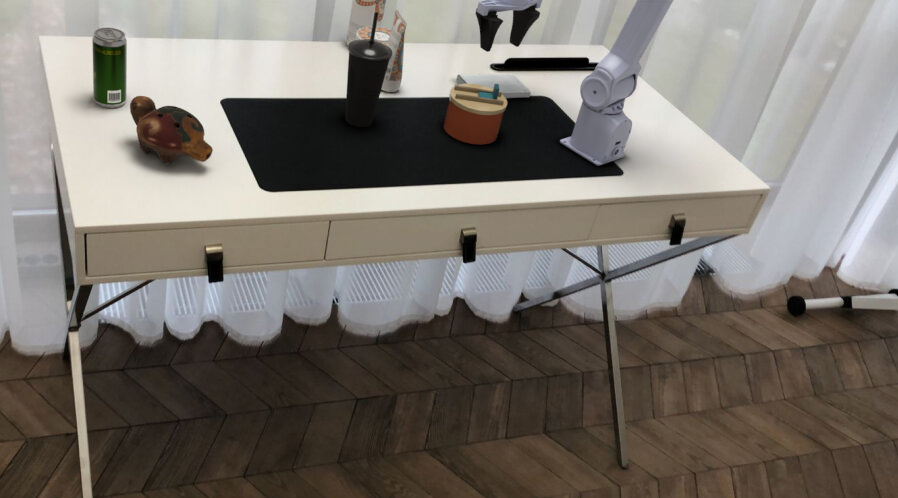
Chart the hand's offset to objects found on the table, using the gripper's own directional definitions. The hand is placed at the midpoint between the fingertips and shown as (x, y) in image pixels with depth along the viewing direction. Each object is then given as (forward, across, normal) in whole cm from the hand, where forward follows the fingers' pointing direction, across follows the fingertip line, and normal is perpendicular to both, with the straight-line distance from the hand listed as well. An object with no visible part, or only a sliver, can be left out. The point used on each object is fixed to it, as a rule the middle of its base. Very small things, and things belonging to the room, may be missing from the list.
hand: (499, 46), depth 184 cm
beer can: (+10, +69, -20) cm, 73 cm away
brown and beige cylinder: (+10, +13, +10) cm, 20 cm away
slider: (+3, +12, +11) cm, 17 cm away
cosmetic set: (+10, +15, -17) cm, 25 cm away
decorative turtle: (+10, +68, -1) cm, 68 cm away
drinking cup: (+10, +31, 0) cm, 33 cm away
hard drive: (+10, -3, -2) cm, 11 cm away
